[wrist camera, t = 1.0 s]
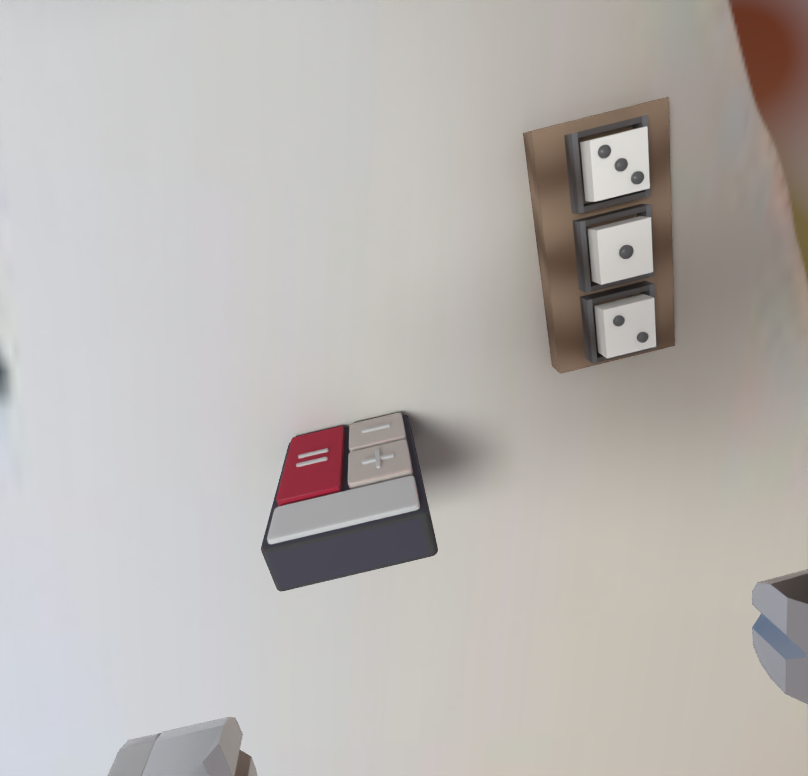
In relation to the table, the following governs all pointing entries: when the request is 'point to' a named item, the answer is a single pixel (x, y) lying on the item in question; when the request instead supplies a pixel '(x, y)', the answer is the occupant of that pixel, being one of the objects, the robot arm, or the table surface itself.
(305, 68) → the table surface
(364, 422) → the calculator
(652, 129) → the key panel
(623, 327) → the key two
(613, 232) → the key one
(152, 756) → the robot arm
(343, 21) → the table surface
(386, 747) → the table surface
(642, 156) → the key three
